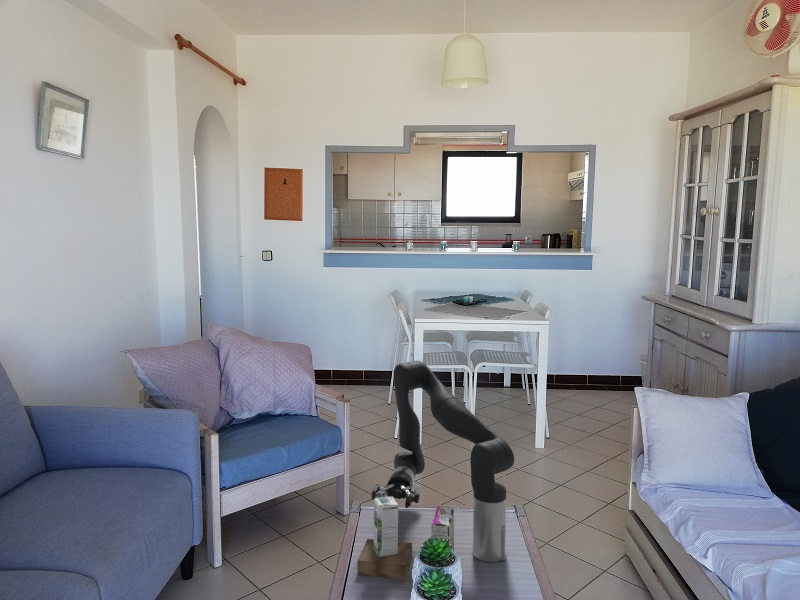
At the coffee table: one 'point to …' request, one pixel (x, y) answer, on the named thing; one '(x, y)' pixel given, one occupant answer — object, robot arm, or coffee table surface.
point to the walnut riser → (385, 561)
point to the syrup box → (385, 526)
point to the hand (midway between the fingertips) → (391, 503)
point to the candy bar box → (444, 524)
